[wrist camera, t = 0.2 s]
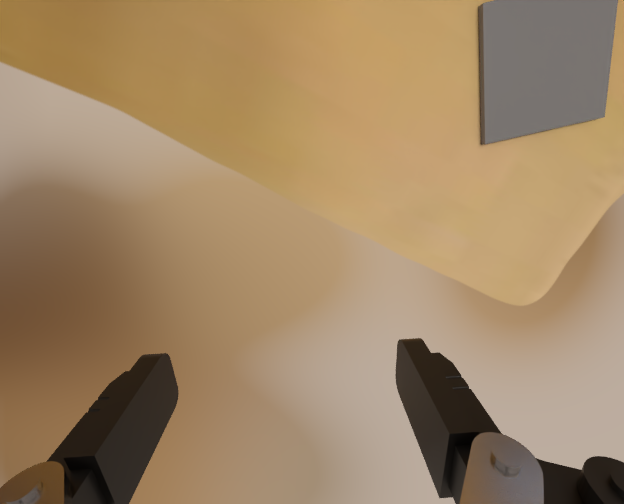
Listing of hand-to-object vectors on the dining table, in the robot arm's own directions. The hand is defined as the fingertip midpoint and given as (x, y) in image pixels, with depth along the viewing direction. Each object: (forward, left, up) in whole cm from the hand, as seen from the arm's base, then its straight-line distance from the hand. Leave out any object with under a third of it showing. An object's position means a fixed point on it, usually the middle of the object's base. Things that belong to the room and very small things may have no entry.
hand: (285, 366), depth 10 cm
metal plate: (-15, +29, -29) cm, 43 cm away
